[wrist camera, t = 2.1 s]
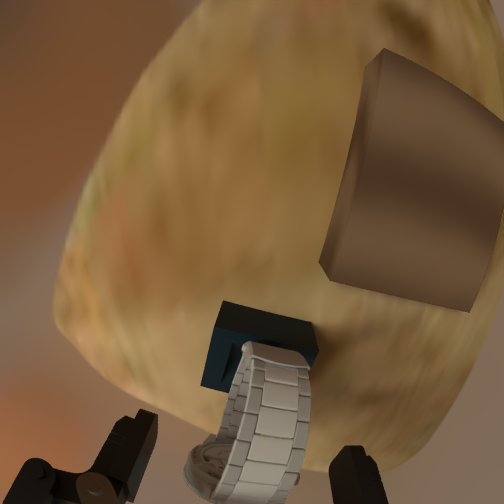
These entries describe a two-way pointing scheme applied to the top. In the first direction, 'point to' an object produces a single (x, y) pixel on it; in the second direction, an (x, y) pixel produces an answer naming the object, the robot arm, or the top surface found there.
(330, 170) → the top surface
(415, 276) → the plinth
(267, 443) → the watch
